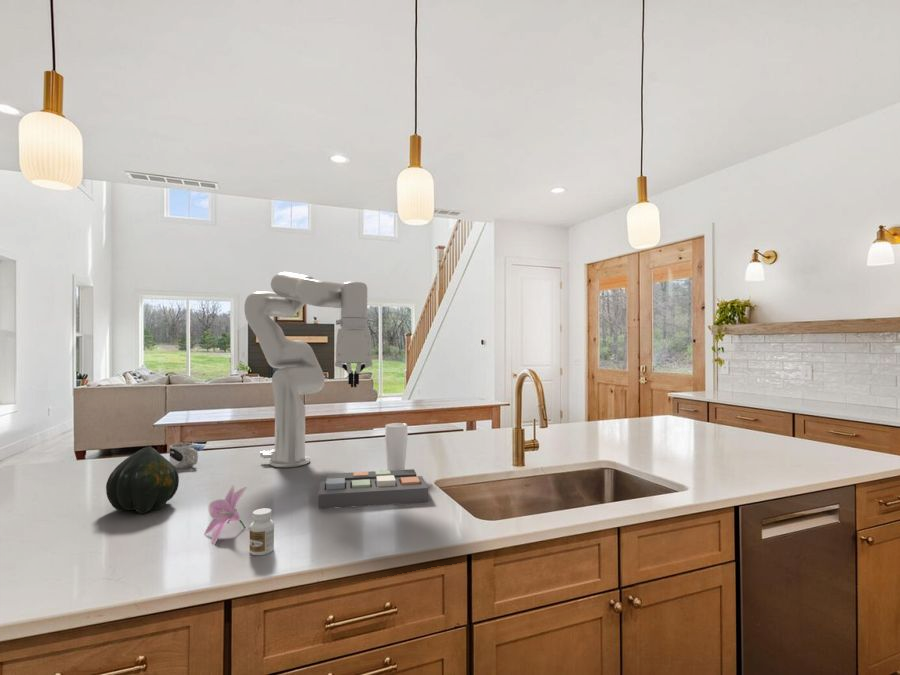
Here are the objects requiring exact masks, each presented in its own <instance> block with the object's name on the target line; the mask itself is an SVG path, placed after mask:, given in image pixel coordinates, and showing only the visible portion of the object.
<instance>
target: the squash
mask: <svg viewBox="0 0 900 675" xmlns="http://www.w3.org/2000/svg"><path fill="white" fill-rule="evenodd" d="M179 482H180V477H179V472H178V469H176V468H175V467H174V466H173V465H172V464H171V463H170V460H168V459H167V458H166V457H164V456H163V455H162V454H161V453H160V452H159V451H158V450H157V449H155V448H153V447H152V446H147V447H143V448H141V449H139V450H137V451H136V452H135V453H132V454H131V455H128V457H126V459H124V460H122V462H120V463H119V464H118V465H116V467H115V468H114V469H113V471H112V472H111V473H110V475H109V476H108V479H107V482H106V484H105V488H106V489H105V490H106V491H105V492H106V497H107V500H108V501H109V503H110V505H111V506H112V507H113V508H114V509H116V510H118V511H123V512H125V511H129V510H131V511H132V510H135V511H136V512H138V513H140V514H146V513H148V512H149V511H151V510H158V509H160V508H162V507H163V506H165V505H166V504H167V503H168V501H170V500H171V499H173V497H174V496H175V495H176V493H177V491H178V488H179Z"/></svg>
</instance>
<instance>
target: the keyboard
mask: <svg viewBox="0 0 900 675" xmlns="http://www.w3.org/2000/svg"><path fill="white" fill-rule="evenodd" d="M387 475H394V477H395V480H396V486H383V487H377V486H376V476H387ZM400 477H418V479H419V481H420V484H417V485H401V484H400ZM332 478H345V489H332V490H326V480H327V479H332ZM366 479H370V487H366V488H352V480H366ZM326 480H324V481H320V485H319V489H318V503H317V504H318V505H317V506H318V507H317V509H318V510H323V509H322V508H326V509H336V508H335V507H341V508H351V507H352V508H354V507H353V506H356V507H367V506H368V505H371V506H383V505H384V504H386V505H397V504H411V503H412V504H414V503H427V502H429V486H428V484H427V483H426V481H425V479H424V477H423V476H422V475H418V476H417V473H416V471H415V469H413V468H412V469H411V468H410V469H405V470H374V471H353V472H338V473H337V472H335V473H327V474H326ZM368 507H369V506H368Z"/></svg>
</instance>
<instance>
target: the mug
mask: <svg viewBox="0 0 900 675" xmlns="http://www.w3.org/2000/svg"><path fill="white" fill-rule="evenodd" d="M194 444H195V443H193V442H180V443H174V444H171V445H169V462H170V463H171V464H172V465H173V466H174V467H175V468H176V470H178V469H185V468H191V467H192V466H195V465H197V464H198V459H199V454H198V450H197V449H195V448H194Z"/></svg>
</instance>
